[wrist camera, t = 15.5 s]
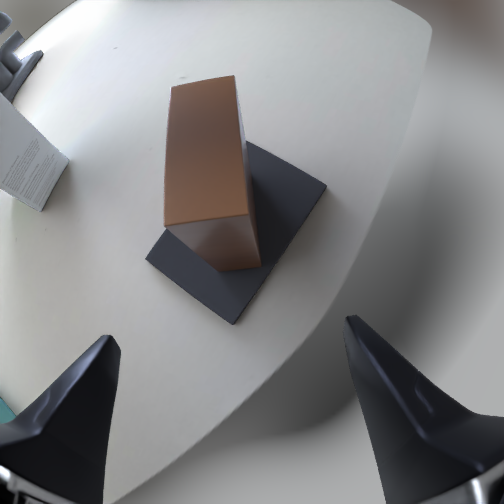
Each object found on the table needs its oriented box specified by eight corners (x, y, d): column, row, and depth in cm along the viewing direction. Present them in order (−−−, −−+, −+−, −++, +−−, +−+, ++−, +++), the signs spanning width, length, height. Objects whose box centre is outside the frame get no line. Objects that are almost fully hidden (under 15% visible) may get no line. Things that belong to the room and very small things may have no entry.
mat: (326, 187, 20) (327, 185, 20) (233, 325, 19) (232, 325, 18) (239, 139, 22) (239, 136, 22) (147, 259, 20) (144, 258, 20)
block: (261, 267, 19) (249, 214, 9) (217, 271, 19) (163, 226, 9) (251, 174, 21) (234, 74, 11) (211, 179, 21) (170, 86, 11)
